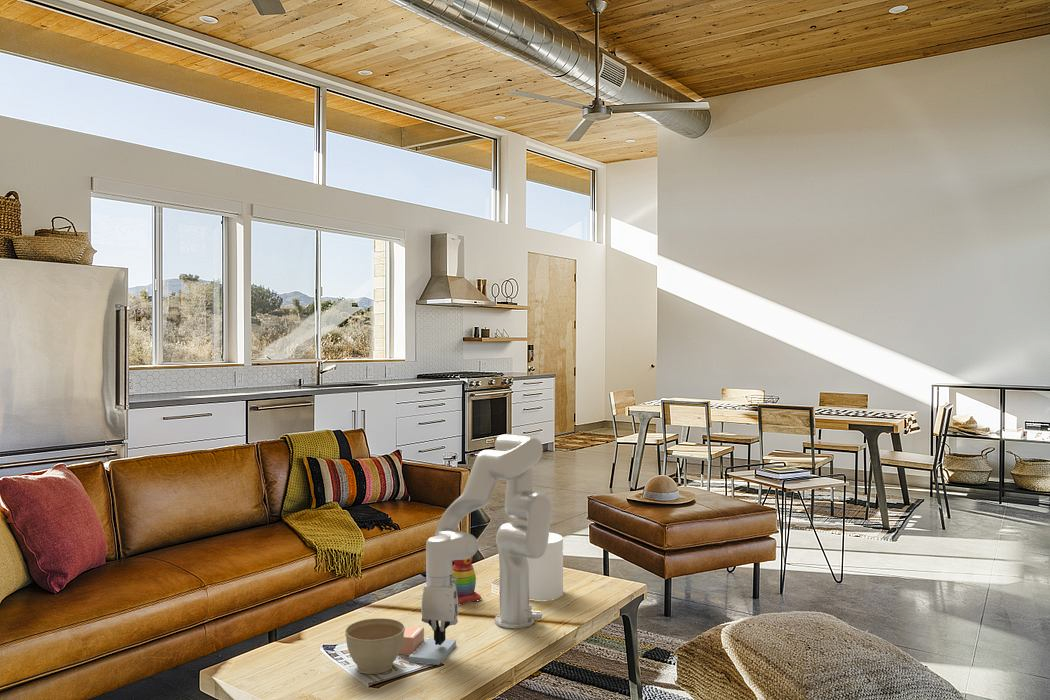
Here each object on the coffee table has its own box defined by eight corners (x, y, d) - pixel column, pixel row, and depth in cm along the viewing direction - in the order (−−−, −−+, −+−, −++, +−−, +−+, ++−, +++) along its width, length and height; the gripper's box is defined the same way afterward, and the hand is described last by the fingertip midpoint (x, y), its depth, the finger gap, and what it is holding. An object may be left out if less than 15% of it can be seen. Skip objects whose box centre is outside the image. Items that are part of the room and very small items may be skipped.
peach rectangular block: (424, 644, 224) (423, 627, 224) (413, 655, 216) (413, 637, 216) (408, 642, 225) (408, 625, 225) (397, 653, 217) (397, 636, 217)
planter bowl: (393, 682, 199) (393, 641, 199) (335, 678, 202) (335, 637, 202) (412, 657, 215) (412, 619, 215) (359, 653, 218) (359, 616, 218)
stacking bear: (454, 606, 256) (454, 554, 256) (442, 597, 265) (442, 547, 265) (483, 600, 261) (483, 549, 261) (470, 592, 270) (470, 542, 270)
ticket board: (456, 645, 224) (455, 639, 224) (439, 664, 210) (438, 659, 210) (427, 642, 226) (427, 637, 226) (408, 661, 212) (408, 656, 212)
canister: (572, 592, 269) (572, 536, 269) (543, 604, 257) (543, 546, 257) (537, 583, 280) (537, 529, 279) (508, 594, 268) (508, 538, 267)
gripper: (468, 578, 220) (468, 640, 220) (420, 574, 224) (420, 635, 224) (459, 586, 213) (459, 650, 213) (410, 582, 216) (410, 645, 217)
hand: (439, 643), depth 218 cm, fingers closed
